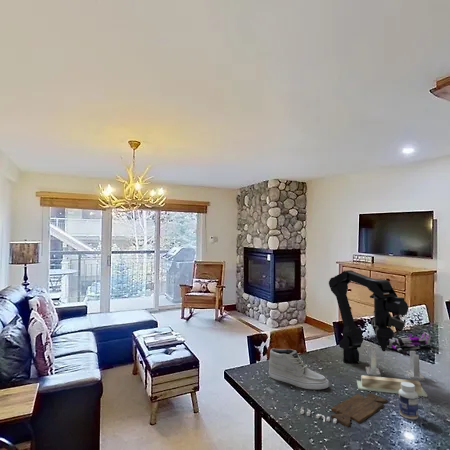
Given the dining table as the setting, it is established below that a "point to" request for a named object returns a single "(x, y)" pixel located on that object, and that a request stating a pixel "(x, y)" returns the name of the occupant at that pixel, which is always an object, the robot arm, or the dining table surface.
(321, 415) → the figurines set
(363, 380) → the rail
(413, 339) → the figurine
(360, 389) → the mat
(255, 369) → the dining table surface
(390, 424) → the dining table surface
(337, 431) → the dining table surface
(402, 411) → the pill bottle
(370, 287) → the robot arm
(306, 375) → the chukka sneaker
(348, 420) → the brown notched wooden board
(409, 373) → the hook standards
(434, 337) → the dining table surface
